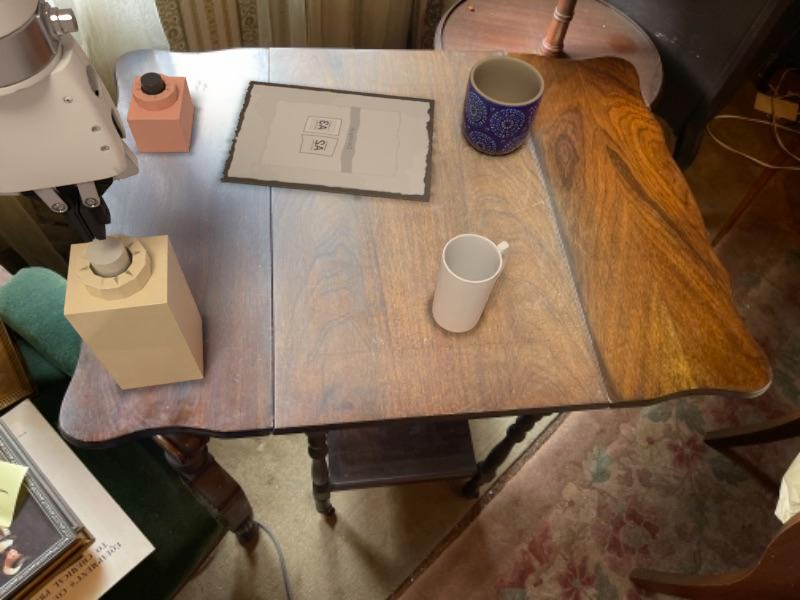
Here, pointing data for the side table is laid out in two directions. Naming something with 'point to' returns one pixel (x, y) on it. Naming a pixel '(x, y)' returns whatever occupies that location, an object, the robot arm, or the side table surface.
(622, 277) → the side table surface
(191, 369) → the tan box with knob
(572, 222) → the side table surface
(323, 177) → the picture frame
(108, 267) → the grey push button
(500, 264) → the mug
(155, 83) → the black push button
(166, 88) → the orange push button box
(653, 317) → the side table surface
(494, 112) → the planter
